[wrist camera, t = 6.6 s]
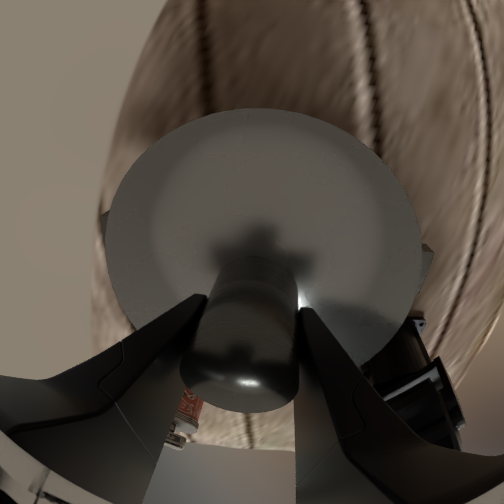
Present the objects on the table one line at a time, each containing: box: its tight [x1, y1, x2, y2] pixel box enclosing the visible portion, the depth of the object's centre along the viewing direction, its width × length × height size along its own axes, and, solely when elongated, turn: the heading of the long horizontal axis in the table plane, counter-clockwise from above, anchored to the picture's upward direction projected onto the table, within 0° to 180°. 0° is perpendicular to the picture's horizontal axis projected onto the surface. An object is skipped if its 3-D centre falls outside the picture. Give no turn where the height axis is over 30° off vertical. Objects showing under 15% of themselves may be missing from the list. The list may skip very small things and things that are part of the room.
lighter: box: [164, 387, 204, 450], centre depth 22 cm, size 8×3×10 cm, turn 68°
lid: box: [105, 108, 422, 413], centre depth 8 cm, size 12×12×5 cm
